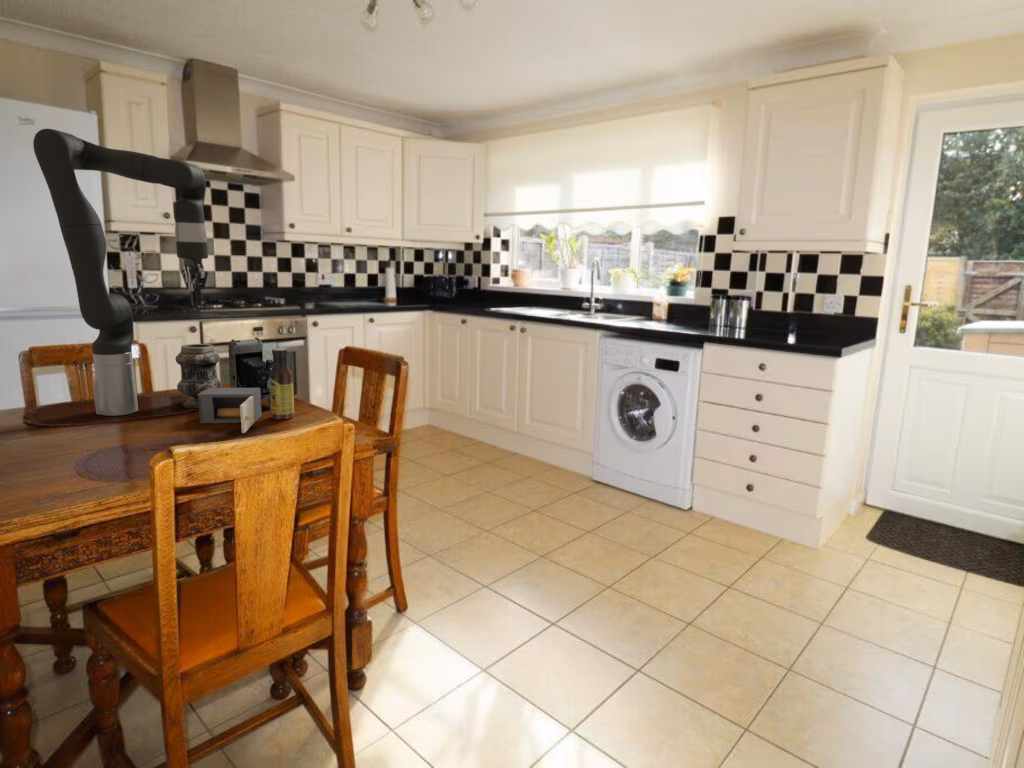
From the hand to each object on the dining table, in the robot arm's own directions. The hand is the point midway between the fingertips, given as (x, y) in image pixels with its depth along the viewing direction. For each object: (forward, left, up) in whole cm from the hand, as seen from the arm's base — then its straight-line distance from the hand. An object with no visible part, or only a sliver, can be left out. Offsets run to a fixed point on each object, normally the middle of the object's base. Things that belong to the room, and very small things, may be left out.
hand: (196, 304), depth 168 cm
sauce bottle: (+22, -5, -31) cm, 39 cm away
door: (+17, -16, -31) cm, 38 cm away
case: (+9, -6, -31) cm, 33 cm away
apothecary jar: (-5, +11, -31) cm, 33 cm away
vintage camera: (+12, +10, -31) cm, 35 cm away
